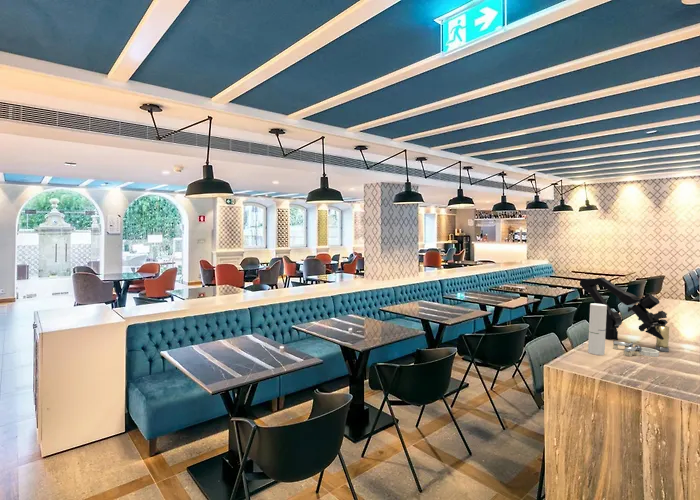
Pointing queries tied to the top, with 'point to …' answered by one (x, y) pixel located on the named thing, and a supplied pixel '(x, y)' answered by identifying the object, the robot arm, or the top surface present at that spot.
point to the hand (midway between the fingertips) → (665, 338)
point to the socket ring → (649, 352)
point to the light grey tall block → (597, 329)
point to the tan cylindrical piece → (663, 344)
